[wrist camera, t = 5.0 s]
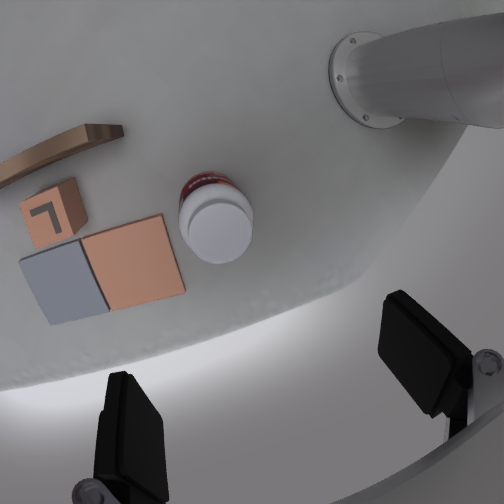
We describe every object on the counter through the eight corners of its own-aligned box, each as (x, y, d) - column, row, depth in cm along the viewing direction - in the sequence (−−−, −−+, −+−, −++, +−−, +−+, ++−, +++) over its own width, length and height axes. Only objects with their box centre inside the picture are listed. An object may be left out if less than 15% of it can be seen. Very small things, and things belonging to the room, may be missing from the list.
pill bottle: (239, 171, 30) (268, 194, 21) (235, 227, 33) (260, 272, 23) (180, 170, 29) (178, 191, 19) (178, 226, 31) (178, 274, 21)
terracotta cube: (74, 177, 26) (56, 186, 22) (88, 219, 28) (73, 236, 24) (39, 191, 26) (18, 203, 21) (53, 232, 28) (35, 249, 23)
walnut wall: (121, 125, 25) (84, 123, 15) (124, 136, 26) (88, 141, 15) (-8, 182, 23) (-70, 212, 12) (-5, 191, 24) (-66, 224, 13)
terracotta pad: (161, 213, 30) (161, 215, 29) (185, 289, 34) (185, 292, 34) (83, 237, 29) (81, 239, 28) (113, 307, 33) (112, 311, 32)
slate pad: (80, 238, 29) (78, 240, 28) (110, 308, 33) (109, 311, 32) (20, 259, 28) (18, 261, 27) (52, 321, 32) (50, 325, 31)
